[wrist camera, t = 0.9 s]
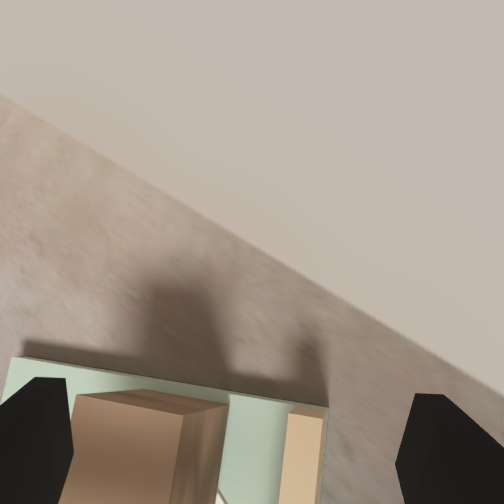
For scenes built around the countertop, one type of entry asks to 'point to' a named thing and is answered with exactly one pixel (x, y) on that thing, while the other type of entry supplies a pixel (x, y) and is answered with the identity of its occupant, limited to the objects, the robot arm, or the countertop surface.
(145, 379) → the corner board
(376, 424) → the countertop surface
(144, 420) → the walnut block
